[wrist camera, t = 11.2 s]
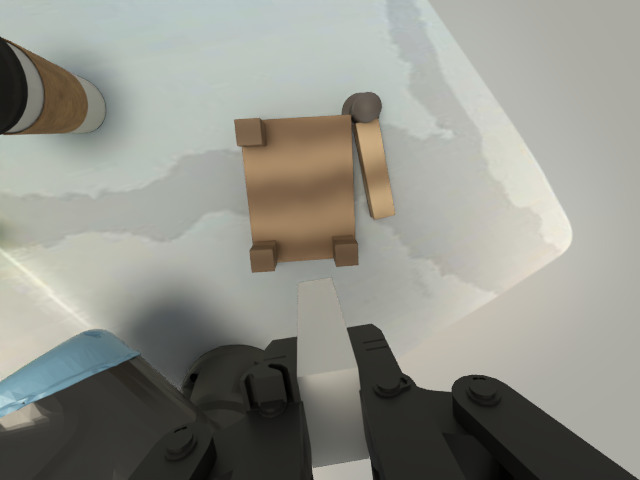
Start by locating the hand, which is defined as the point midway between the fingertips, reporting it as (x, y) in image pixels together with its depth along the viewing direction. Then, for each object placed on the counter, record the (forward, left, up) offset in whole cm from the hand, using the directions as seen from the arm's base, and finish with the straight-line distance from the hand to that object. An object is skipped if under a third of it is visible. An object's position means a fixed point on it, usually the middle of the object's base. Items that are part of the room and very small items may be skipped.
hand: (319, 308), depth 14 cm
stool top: (+4, -1, -27) cm, 28 cm away
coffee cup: (+14, +25, -28) cm, 40 cm away
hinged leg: (+6, -8, -27) cm, 29 cm away
